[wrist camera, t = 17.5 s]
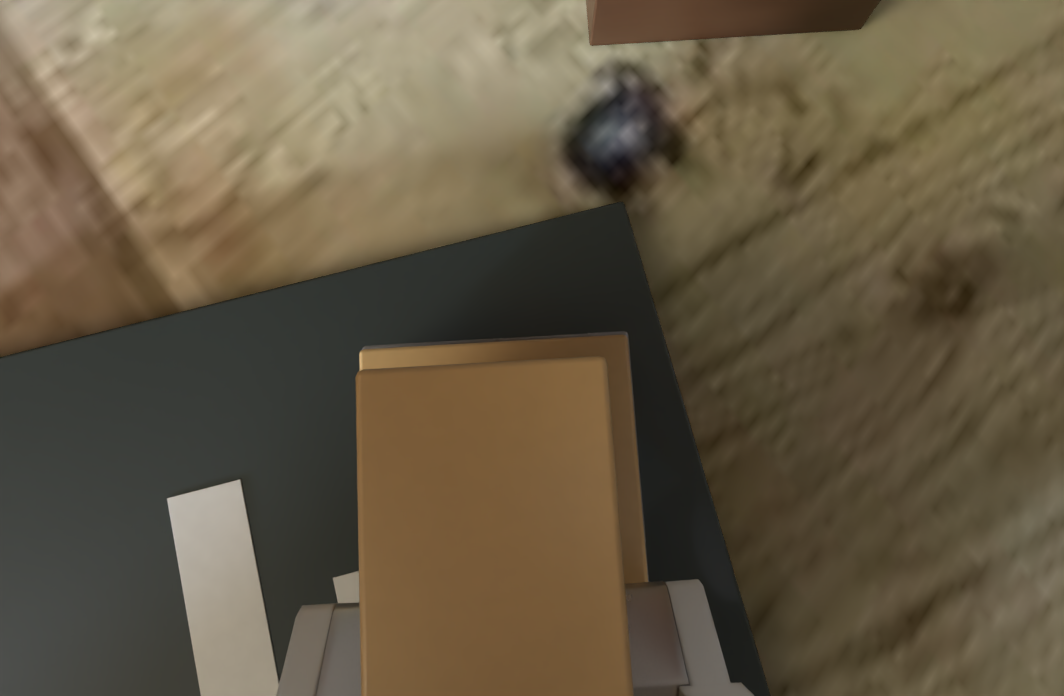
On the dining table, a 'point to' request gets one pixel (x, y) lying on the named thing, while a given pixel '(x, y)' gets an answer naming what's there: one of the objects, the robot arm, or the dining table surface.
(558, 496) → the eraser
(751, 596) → the dining table surface
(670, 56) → the dining table surface
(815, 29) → the walnut block
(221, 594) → the slate board
